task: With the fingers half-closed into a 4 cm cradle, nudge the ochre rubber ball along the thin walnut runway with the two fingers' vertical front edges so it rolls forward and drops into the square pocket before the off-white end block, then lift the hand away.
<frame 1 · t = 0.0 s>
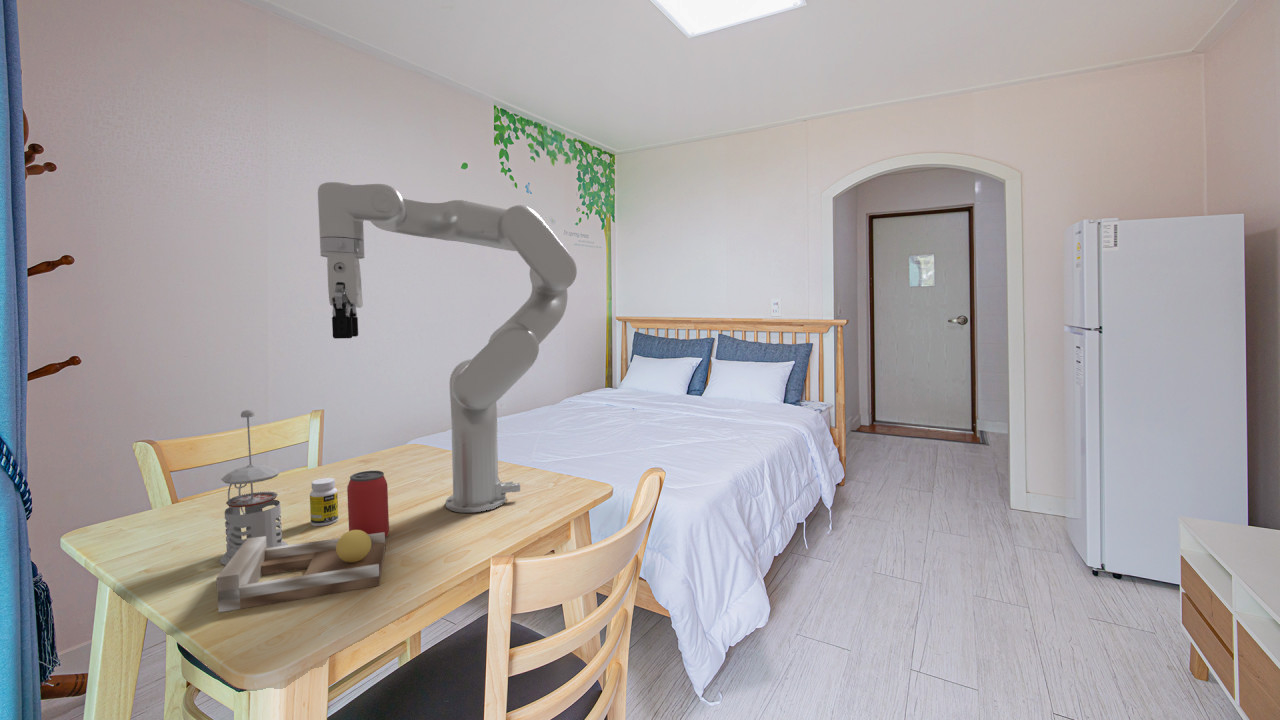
hand: (346, 337, 105), 37 cm above the table, tool pointing down, fingers open, 9 cm apart
ball: (353, 546, 86), point 4 cm above the table, touching runway
runway: (312, 576, 84), on the table
french press: (253, 552, 93), on the table
supplement bottle: (325, 522, 106), on the table
beer can: (369, 539, 99), on the table
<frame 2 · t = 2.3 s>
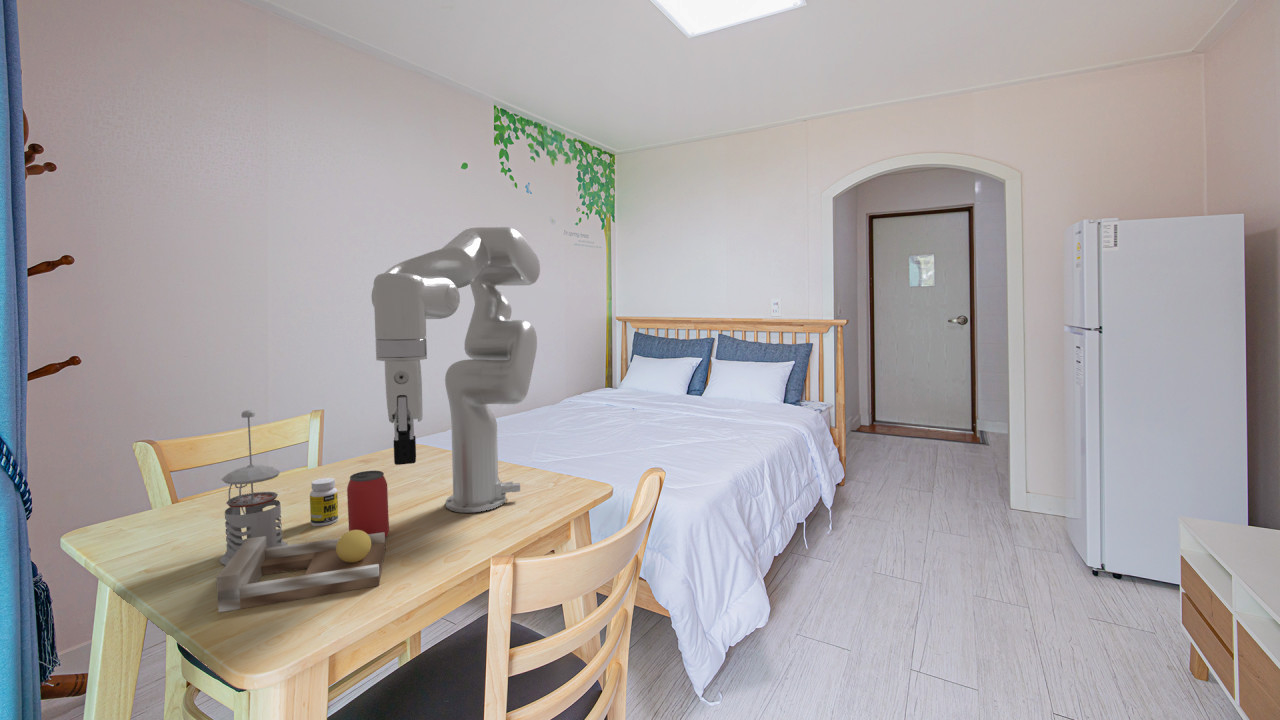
hand: (405, 461, 88), 17 cm above the table, tool pointing down, fingers closed
nothing on the table moved.
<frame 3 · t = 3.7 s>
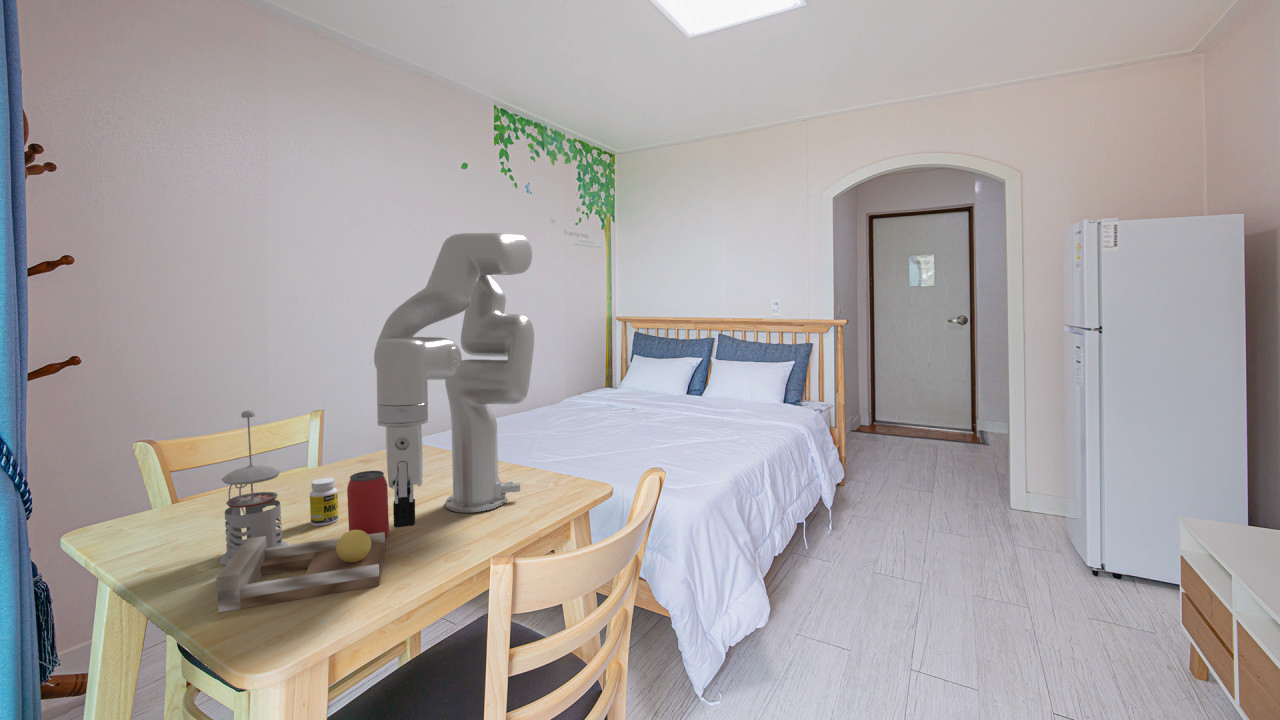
hand: (404, 524, 88), 7 cm above the table, tool pointing down, fingers closed
nothing on the table moved.
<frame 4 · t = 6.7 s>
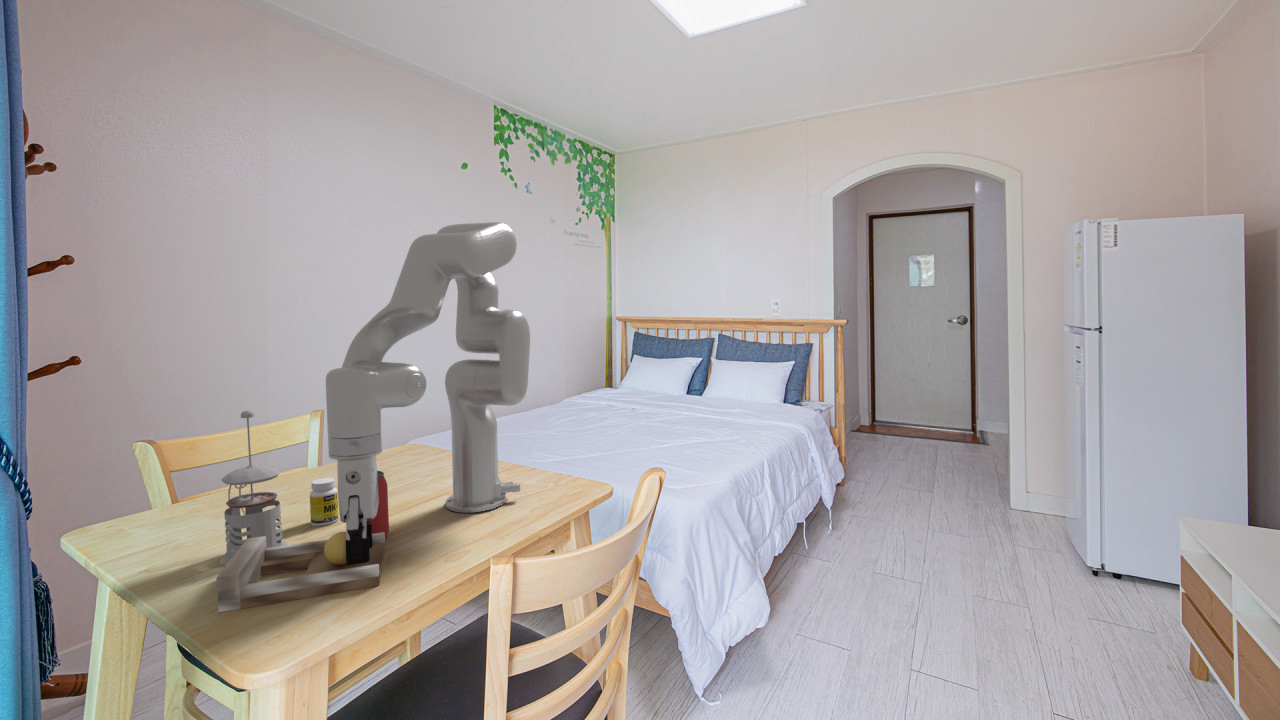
hand: (359, 554, 86), 2 cm above the table, tool pointing down, fingers closed on ball, 4 cm apart
ball: (342, 547, 85), point 4 cm above the table, tilted 21°, touching gripper
everything else where it was.
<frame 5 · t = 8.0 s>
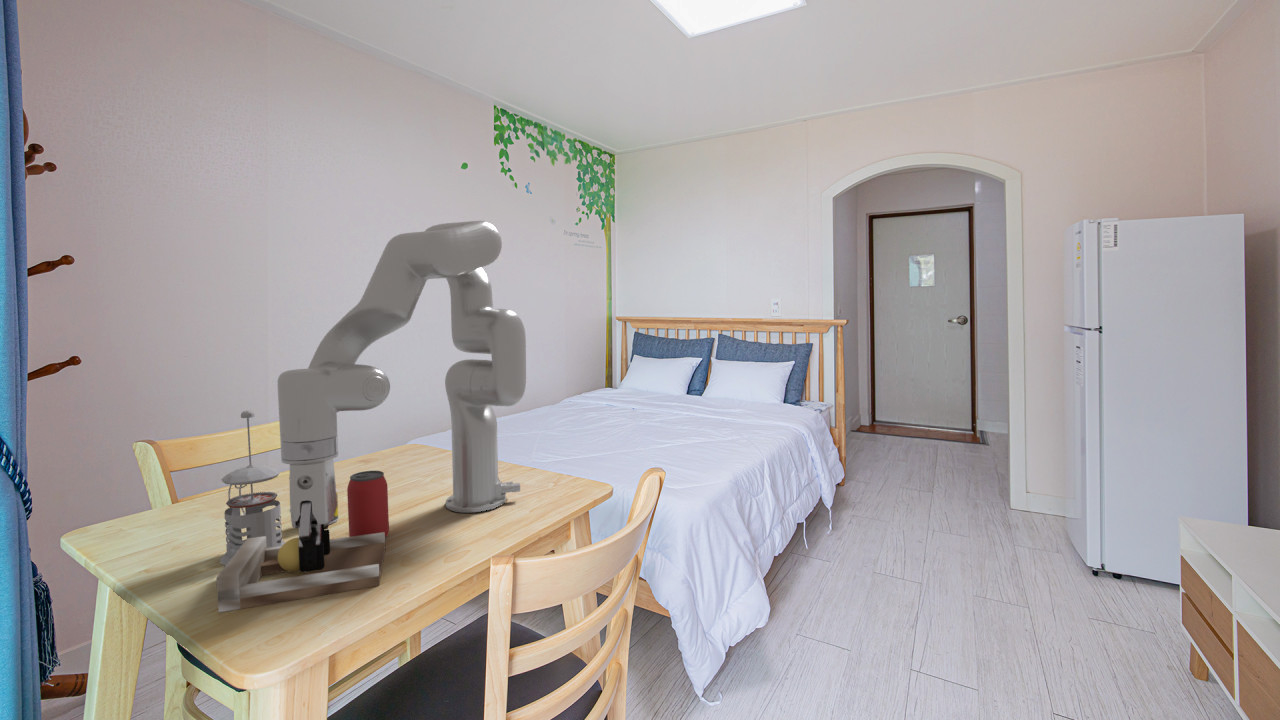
hand: (315, 561, 84), 2 cm above the table, tool pointing down, fingers closed on ball, 4 cm apart
ball: (296, 554, 83), point 4 cm above the table, tilted 22°, touching gripper
everything else where it was.
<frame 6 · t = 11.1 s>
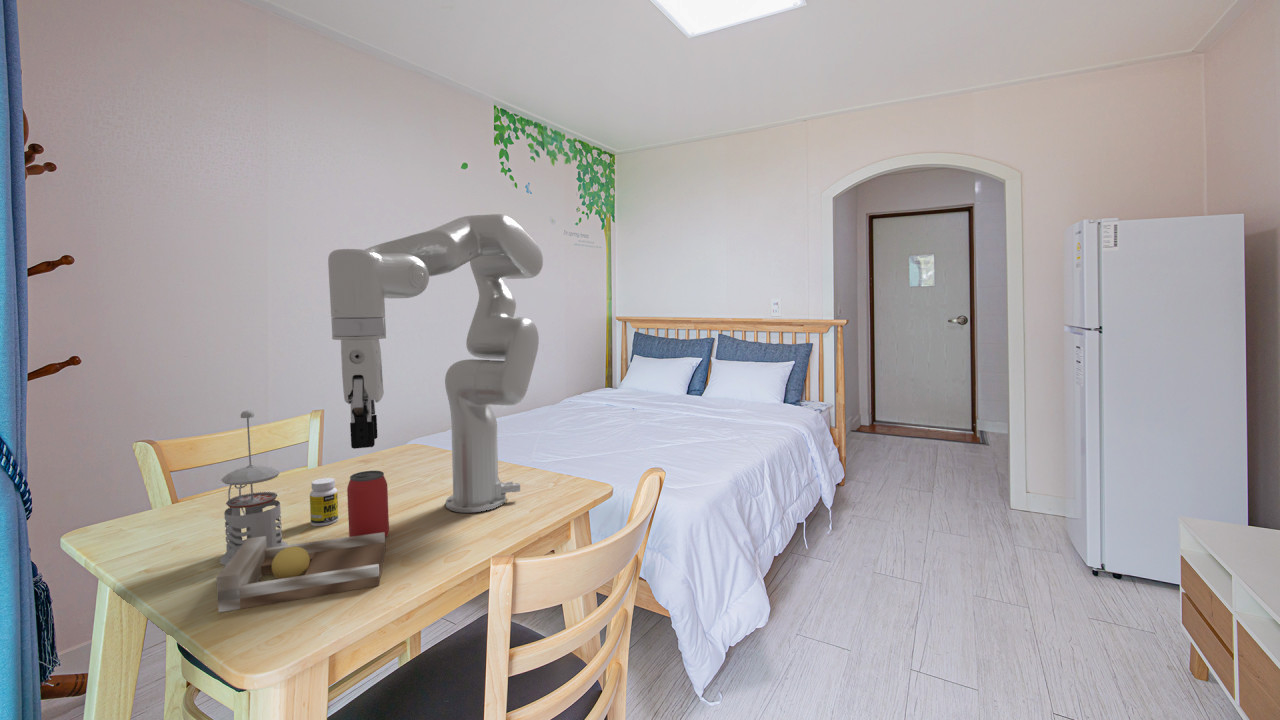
hand: (364, 442, 86), 21 cm above the table, tool pointing down, fingers open, 4 cm apart
ball: (290, 563, 83), point 2 cm above the table, tilted 73°
everything else where it was.
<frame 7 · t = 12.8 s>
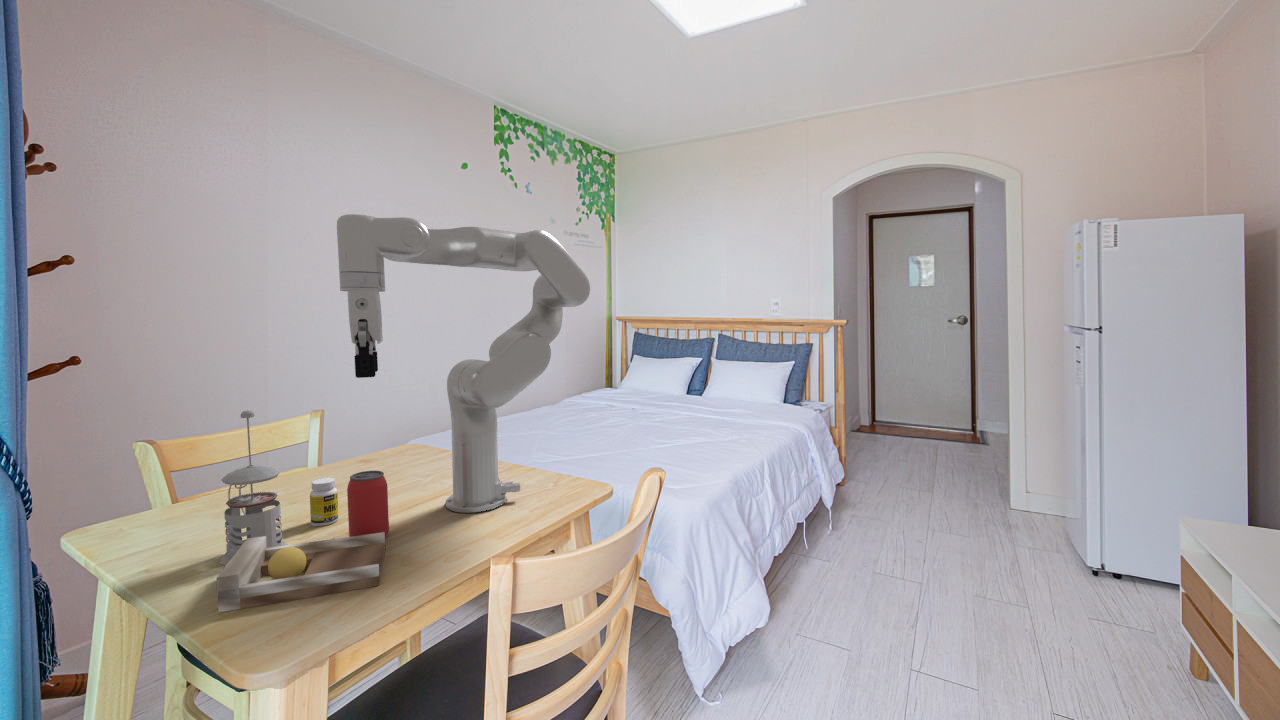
hand: (367, 374, 101), 30 cm above the table, tool pointing down, fingers open, 9 cm apart
ball: (287, 563, 83), point 2 cm above the table, tilted 84°
everything else where it was.
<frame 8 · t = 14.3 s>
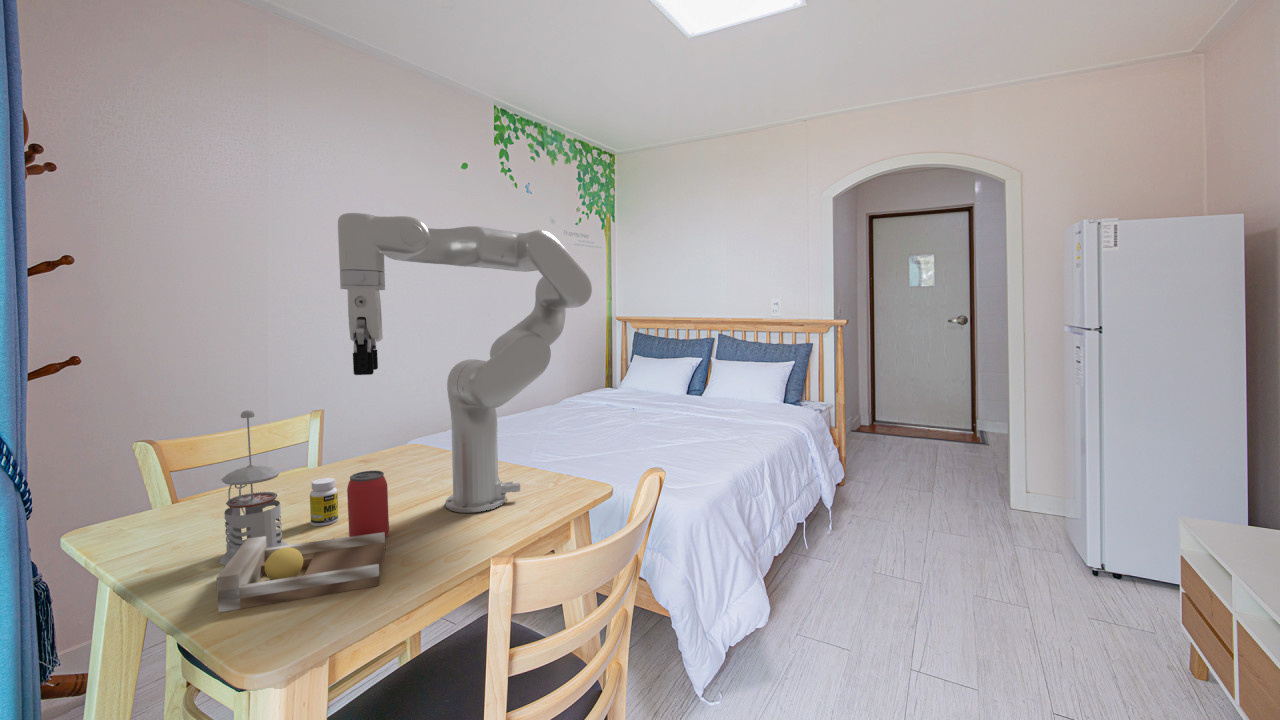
hand: (366, 372, 102), 30 cm above the table, tool pointing down, fingers open, 9 cm apart
ball: (284, 564, 83), point 2 cm above the table, tilted 93°
everything else where it was.
at the end: ball 0.5 cm from the target spot on the runway, point 2.5 cm above the runway's base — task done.
